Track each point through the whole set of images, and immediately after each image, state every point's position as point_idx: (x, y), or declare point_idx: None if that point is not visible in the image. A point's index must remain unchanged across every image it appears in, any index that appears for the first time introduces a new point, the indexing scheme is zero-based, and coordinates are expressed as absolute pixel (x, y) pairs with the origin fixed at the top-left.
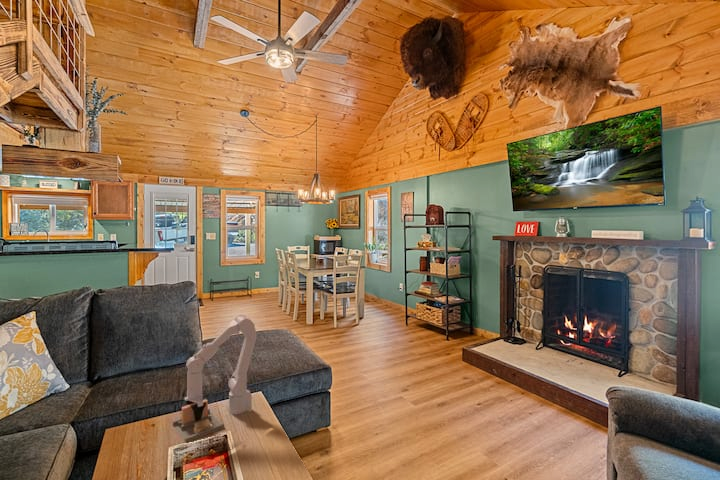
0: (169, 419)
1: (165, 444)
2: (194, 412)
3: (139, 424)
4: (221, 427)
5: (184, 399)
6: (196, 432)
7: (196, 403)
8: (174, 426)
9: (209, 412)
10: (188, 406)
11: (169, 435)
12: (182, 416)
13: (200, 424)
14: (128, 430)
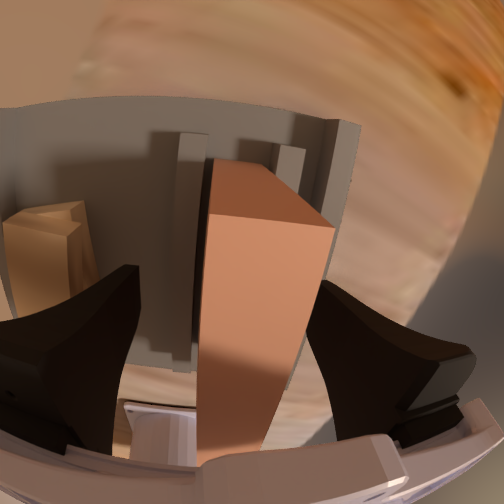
0: (441, 174)
1: (138, 2)
2: (43, 311)
3: (493, 64)
4: None
5: (360, 452)
6: (40, 208)
7: (37, 441)
8: (305, 118)
9: None
10: (231, 337)
11: (238, 54)
12: (241, 178)
13: (25, 264)
14: (475, 9)
